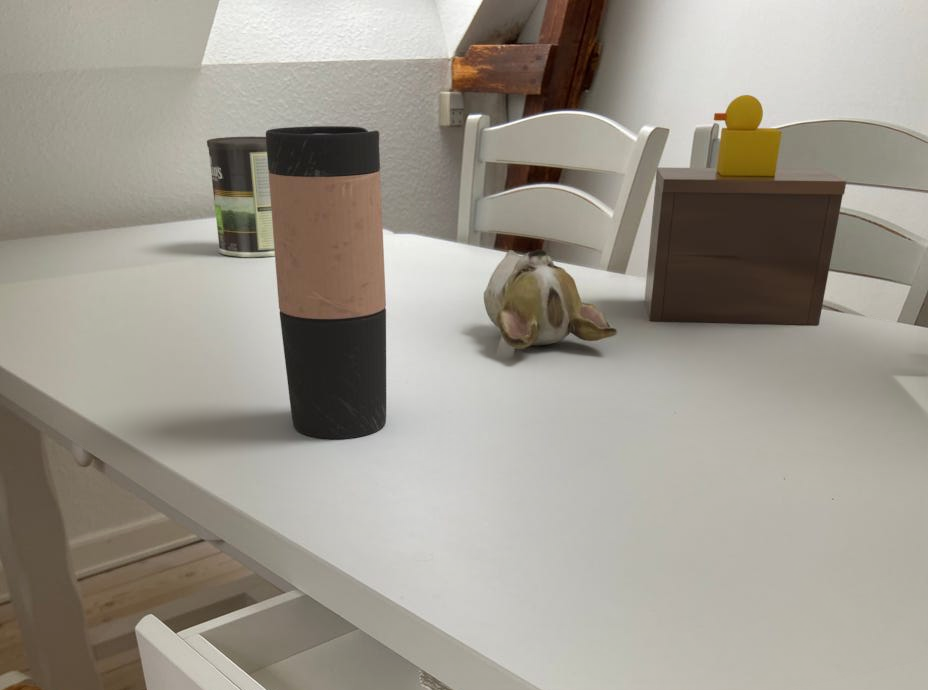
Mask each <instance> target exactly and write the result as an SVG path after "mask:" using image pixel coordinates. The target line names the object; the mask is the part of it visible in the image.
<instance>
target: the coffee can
mask: <svg viewBox="0 0 928 690" xmlns="http://www.w3.org/2000/svg"><path fill="white" fill-rule="evenodd" d="M206 145H207V149H208V155H209V156H208V157H209V165H210V175H211V183H212V193H213V203H214V209H215V219H216V220H215V221H216V227H217V228H216V229H217V237H218V252H219V253H220V254H221V255H222V256H227V257H236V258H246V259H247V258H269V257H275V250H274V237H273V224H272V211H271V198H270V185H269V170H268V159H267V147H266V136H226V137H225V136H224V137H215V138H209V139H208V140H206Z"/></svg>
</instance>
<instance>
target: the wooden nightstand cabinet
mask: <svg viewBox="0 0 928 690" xmlns="http://www.w3.org/2000/svg"><path fill="white" fill-rule="evenodd" d="M846 185H847V181H846V180H845V179H843V178H841V177H840V176H837V175H835V174H832V173H831V172H829V171H827V170H825V169H823V168H776V173H775V176H722V175H721V174H719V173H718V172H717V167H656V170H655V185H654V195H653V204H652V205H653V206H652V217H651V226H650V227H651V228H650V238H649V245H648V246H649V247H648V248H649V249H648V258H647V269H646V279H645V290H644V303H645V308H646V313H647V317H648V320H649V321H650V322H674V323H675V322H677V323H678V322H679V323H716V324H717V323H719V324H721V323H722V324H755V325H756V324H760V325H762V324H763V325H798V326H800V325H801V326H820V321H821V317H822V316H821V315H822V310H823V303H824V300H825V299H824V298H825V293H826V289H827V282H828V277H829V271H830V268H831V267H830V266H831V260H832V255H833V251H834V245H835V238H836V234H837V230H838V223H839V218H840V213H841V206H842V201H843V196H844V195H845V192H846V187H847V186H846Z"/></svg>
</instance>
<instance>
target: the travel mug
mask: <svg viewBox="0 0 928 690" xmlns="http://www.w3.org/2000/svg"><path fill="white" fill-rule="evenodd" d="M265 137H266V147H267V159H268V170H269V185H270V198H271V211H272V224H273V237H274V250H275V256H274V260H275V261H274V263H275V274H276V287H277V300H278V309H279V321H280V328H281V329H280V330H281V337H282V346H283V354H284V362H285V373H286V378H287V379H286V380H287V388H288V398H289V405H290V414H291V419H292V425H293V427H294V430H296V431H297V432H298V433H300V434H301V435H305V436H308V437H311V438H318V439H329V440H330V439H332V440H333V439H334V440H337V439H353V438H358V437H364V436H367V435H371V434H374V433H376V432H378V431H380V430H382V429H383V428H384V427H385V426H386V422H387V308H386V306H387V299H386V298H387V297H386V296H387V294H386V276H385V275H386V273H385V250H384V227H383V226H384V225H383V204H382V183H381V181H382V180H381V179H382V178H381V158H380V157H381V156H380V132H379V130H370V131H369V130H367V128H365V127H361V126H347V125H315V126H314V125H311V126H292V127H289V126H288V127H276V128H270V129H268V130H266V131H265Z"/></svg>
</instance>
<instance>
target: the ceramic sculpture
mask: <svg viewBox="0 0 928 690" xmlns="http://www.w3.org/2000/svg"><path fill="white" fill-rule="evenodd" d="M483 303H484V308H485V311H486V313H487V316H488V318H489V320H490V321H491V323H492V324H493V325H494V326H495V327H496V328H498V329H499V331H500V332H499V333H500V334H501V336H502V339H503V340H504V342H505V343H506V344H507V345H509V346H510V347H512V348H515V349H517V350H518V349H520V350H521V349H527V348H528V347H530V346H546V345H552V344H556V343H559V342H561V341H563V340H564V339H565V338H566V337H568V335H569V334H572V335H574V336H575V337H576V338H578V339H580V340H582V341H588V342H593V341H594V342H595V341H597V342H598V341H600V340H602V339H606V338H610V337H614V336H616V335H617V333H618V330H617V329H616V328H614V327H611V326H610V323H609V322H608V321H607V319H606V316H605V315H604V313H603V311H601V310H599V309H598V308H597V307H596V305H595V304H593V303H588V302H582V299H581V297H580V293H579V290H578V287H577V285H576V281H575V279H574V278H573V276H571V275H570V273H568V272H567V271H566V270H565V268H563V267H560V266H557V265H555V264H554V260H553V259H552V257H551V256H549V255H548V254H547V252H546V251H545V250H543V249H536V250H532V251H527V252H526V253H525V254H524V253H523V255H519V254H518V253H516V251H514V250H512V249H510V250H508V251H507V252H506V254H505V256H504V258H502V260H500V262H499V263H497V265H496V267H495V269H494V271H492V274H491V275H490V277H489V281H488V283H487V286H486V288H485V290H484V291H483Z"/></svg>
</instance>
